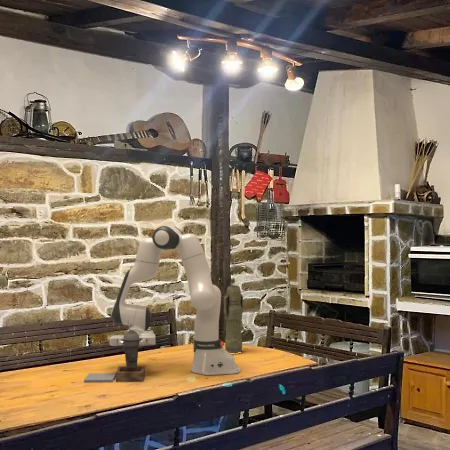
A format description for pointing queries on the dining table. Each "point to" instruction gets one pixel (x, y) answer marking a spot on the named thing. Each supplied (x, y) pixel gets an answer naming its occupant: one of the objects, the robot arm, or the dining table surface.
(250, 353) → the dining table surface
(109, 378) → the slate mat
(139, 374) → the walnut collar
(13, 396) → the dining table surface
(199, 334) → the robot arm
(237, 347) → the thermos
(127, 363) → the beverage cup
